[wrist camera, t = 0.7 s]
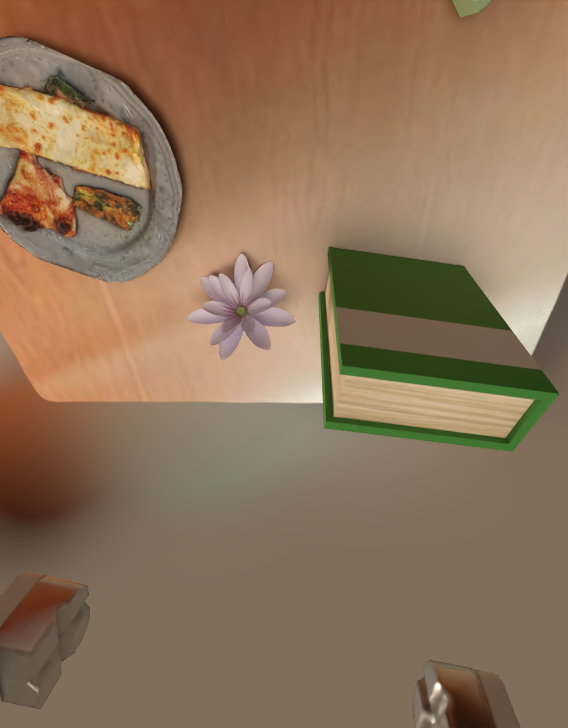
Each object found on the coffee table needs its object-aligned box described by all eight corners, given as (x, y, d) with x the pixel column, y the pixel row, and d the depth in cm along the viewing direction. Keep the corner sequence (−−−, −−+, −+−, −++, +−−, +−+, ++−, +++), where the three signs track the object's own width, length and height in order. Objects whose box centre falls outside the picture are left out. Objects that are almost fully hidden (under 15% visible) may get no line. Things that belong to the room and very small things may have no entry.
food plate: (-24, 229, 49) (-43, 239, 46) (-58, -5, 35) (-89, -10, 32) (167, 294, 54) (159, 307, 51) (204, 110, 40) (196, 114, 37)
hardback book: (318, 297, 53) (324, 428, 34) (329, 246, 48) (342, 365, 29) (441, 314, 53) (512, 451, 35) (463, 266, 49) (559, 393, 30)
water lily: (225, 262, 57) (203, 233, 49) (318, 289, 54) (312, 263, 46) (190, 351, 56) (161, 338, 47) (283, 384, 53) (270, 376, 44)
